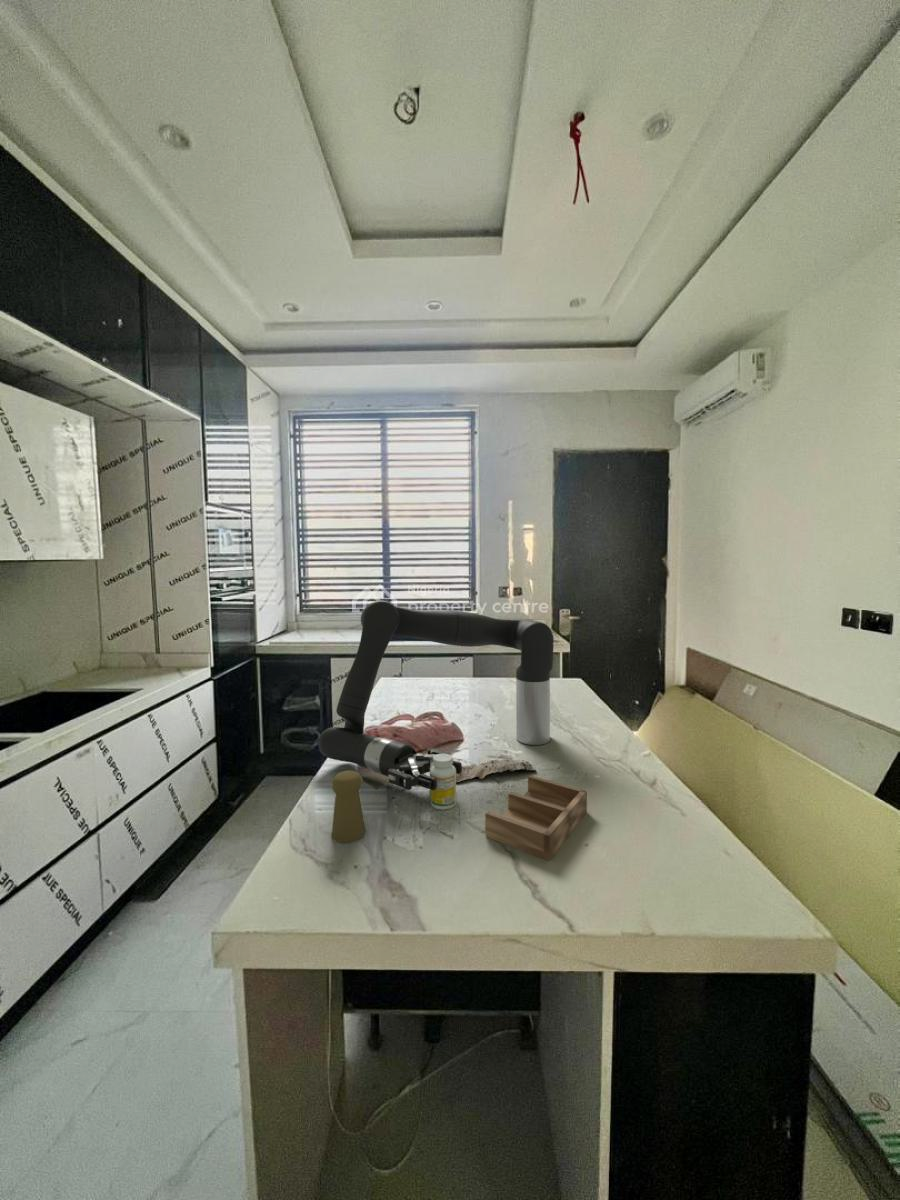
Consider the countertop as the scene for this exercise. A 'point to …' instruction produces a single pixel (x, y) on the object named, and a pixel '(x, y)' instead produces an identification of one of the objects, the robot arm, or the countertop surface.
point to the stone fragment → (492, 768)
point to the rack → (538, 817)
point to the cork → (347, 808)
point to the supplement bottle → (443, 782)
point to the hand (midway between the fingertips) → (449, 776)
